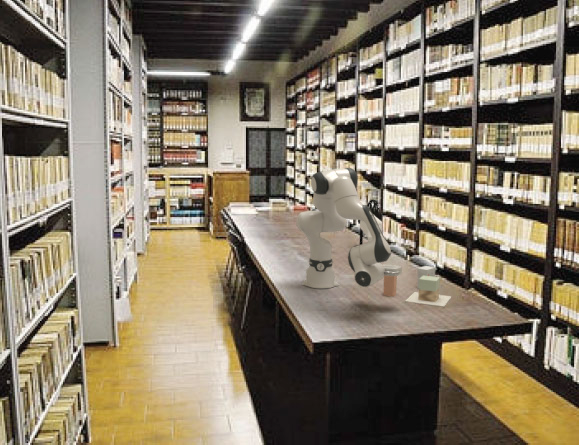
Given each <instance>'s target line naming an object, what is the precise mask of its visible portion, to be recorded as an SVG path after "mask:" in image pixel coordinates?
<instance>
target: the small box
mask: <svg viewBox="0 0 579 445" xmlns="http://www.w3.org/2000/svg"><path fill="white" fill-rule="evenodd" d="M435 275H436V267H434V266H429V265H428V266H427V265H423V266H421V267H418V268H417V275H416V277H417V278H416V280H417V282H416V288H417V289H419V279H420V278H421V277H422V276H432V277H436V276H435Z"/></svg>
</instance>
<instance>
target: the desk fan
mask: <svg viewBox="0 0 579 445" xmlns="http://www.w3.org/2000/svg"><path fill="white" fill-rule="evenodd" d="M366 206H368V207H369V209H370V210H371V212H372V213H373V215H374V216H375V217H377V218H378V219H379V220H380V221H381V222H382V223H383V214H382V213H381V207H380V204H379V203H378V201H377V200H376V199H370V200H369V201H368V203H367V204H366ZM357 223H358V224H359V225H360V220H357ZM363 234H364V232H363V231H362V229H361V228H360V227H359V244H356V245H354V246H353V247H355V246H358V245H361V244H364V243H363V242H364V240H363V238H364V237H363Z"/></svg>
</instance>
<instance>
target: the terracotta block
mask: <svg viewBox="0 0 579 445" xmlns="http://www.w3.org/2000/svg"><path fill="white" fill-rule="evenodd" d="M397 279H398V276H386V275H384V277H383V293H382V294H383V296H389V297H395V296H396V295H397V286H398V285H397V284H398V283H397V281H398V280H397Z"/></svg>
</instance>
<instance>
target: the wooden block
mask: <svg viewBox="0 0 579 445" xmlns="http://www.w3.org/2000/svg"><path fill="white" fill-rule="evenodd" d="M418 292H419V296H418V300H424V301H432V302H436V301H437V299H438V298H439V295H440V288H439V289H438V290H437V291H436V292H435V291H427V290H419V289H418Z"/></svg>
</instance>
